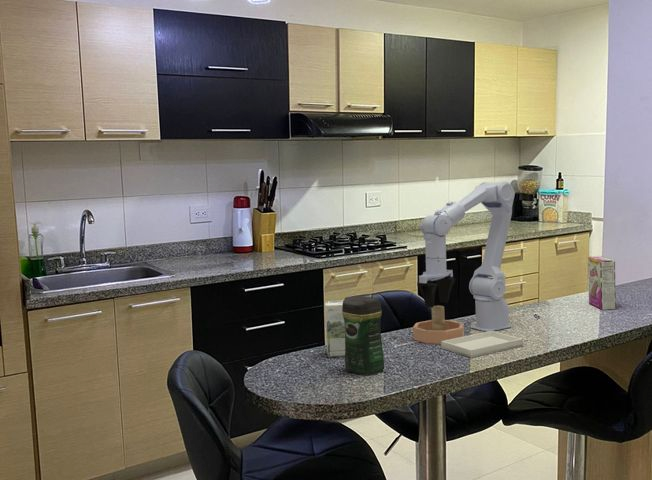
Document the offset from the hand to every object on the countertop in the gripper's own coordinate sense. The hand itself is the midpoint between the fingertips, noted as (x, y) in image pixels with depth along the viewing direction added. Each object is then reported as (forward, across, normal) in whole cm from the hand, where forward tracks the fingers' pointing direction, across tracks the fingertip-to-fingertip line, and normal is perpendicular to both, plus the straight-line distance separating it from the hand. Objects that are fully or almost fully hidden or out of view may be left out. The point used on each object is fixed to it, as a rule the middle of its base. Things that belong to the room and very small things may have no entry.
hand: (436, 305), depth 183 cm
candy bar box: (+9, -64, +24) cm, 69 cm away
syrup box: (+11, +26, -15) cm, 32 cm away
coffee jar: (+11, +34, 0) cm, 36 cm away
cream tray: (+10, +1, +14) cm, 17 cm away
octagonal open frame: (+10, -3, -1) cm, 11 cm away
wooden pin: (+10, -3, -1) cm, 11 cm away
